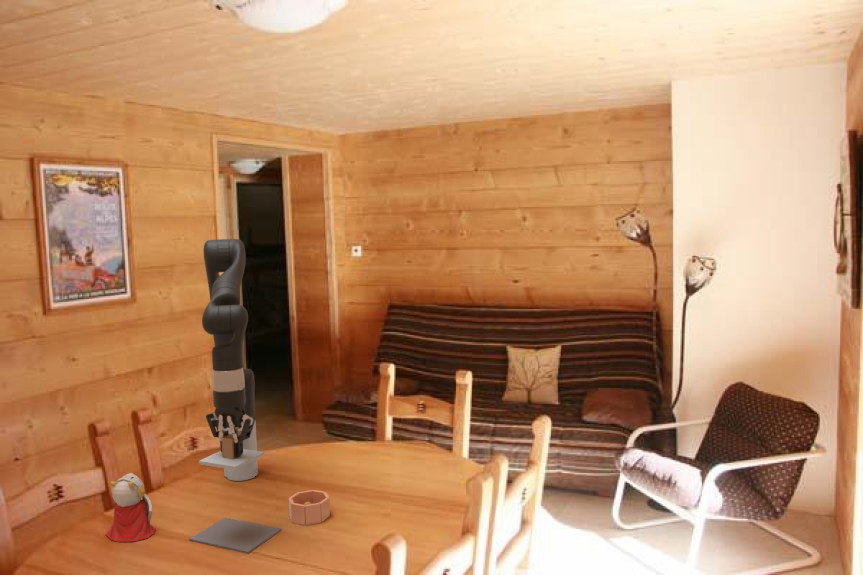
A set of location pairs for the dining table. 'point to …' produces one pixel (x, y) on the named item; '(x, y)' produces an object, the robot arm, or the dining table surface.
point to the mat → (236, 535)
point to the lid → (230, 456)
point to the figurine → (130, 511)
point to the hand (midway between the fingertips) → (232, 454)
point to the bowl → (309, 507)
